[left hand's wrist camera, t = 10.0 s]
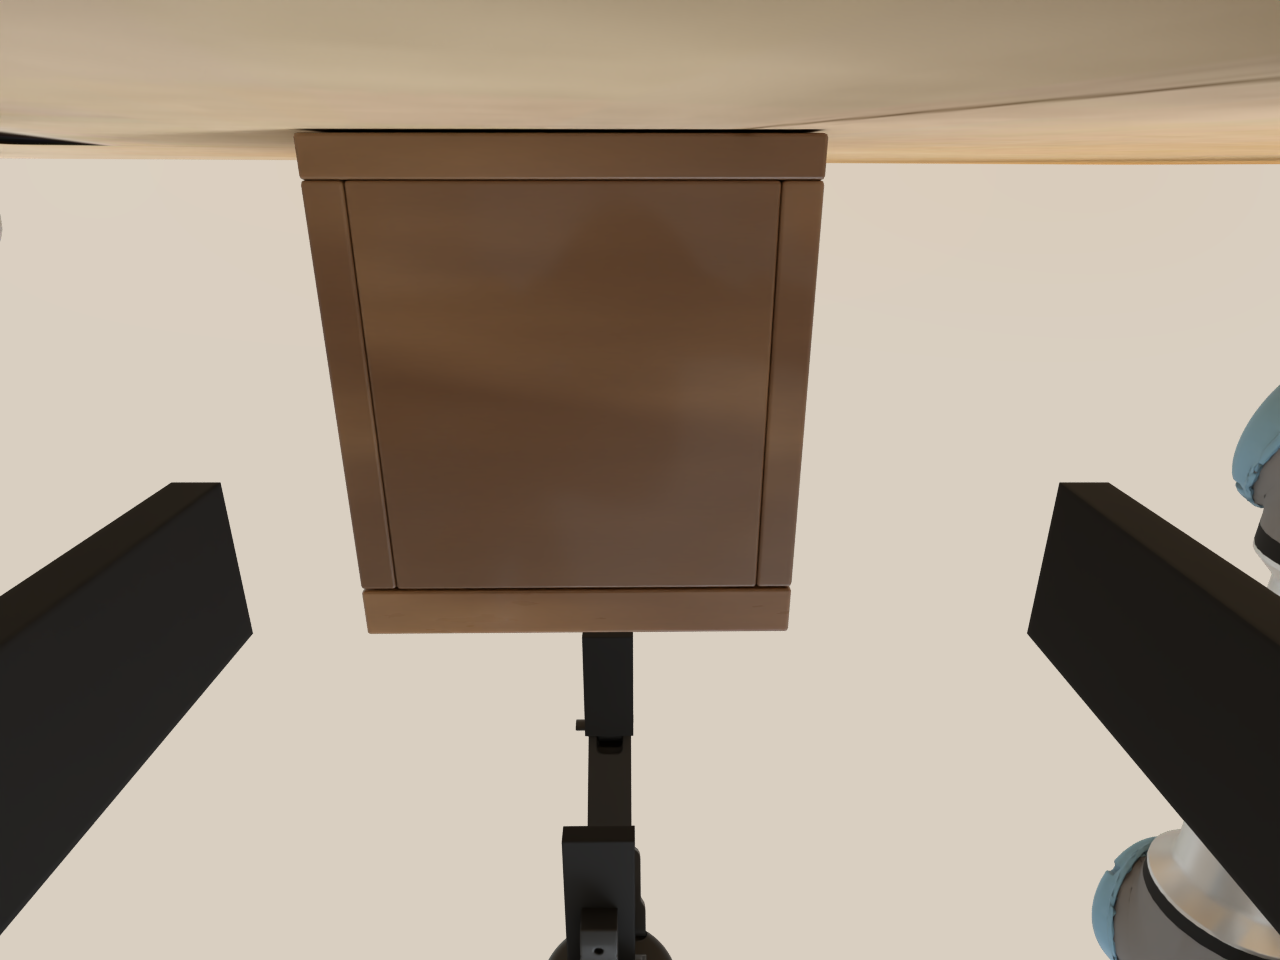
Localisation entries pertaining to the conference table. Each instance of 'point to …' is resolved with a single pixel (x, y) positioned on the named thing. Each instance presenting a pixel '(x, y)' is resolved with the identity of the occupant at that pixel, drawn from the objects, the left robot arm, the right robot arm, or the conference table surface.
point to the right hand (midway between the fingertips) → (603, 714)
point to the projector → (0, 228)
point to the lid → (577, 609)
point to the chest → (568, 351)
